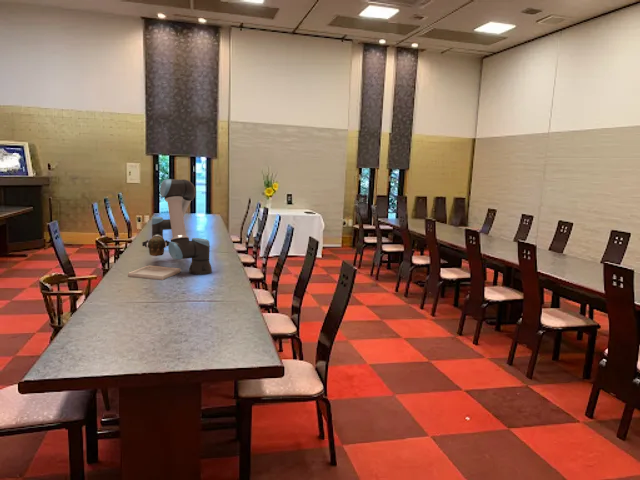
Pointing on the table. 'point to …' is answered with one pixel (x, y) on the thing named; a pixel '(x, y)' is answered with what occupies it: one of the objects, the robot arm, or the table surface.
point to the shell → (156, 246)
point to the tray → (154, 272)
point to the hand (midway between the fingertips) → (156, 246)
